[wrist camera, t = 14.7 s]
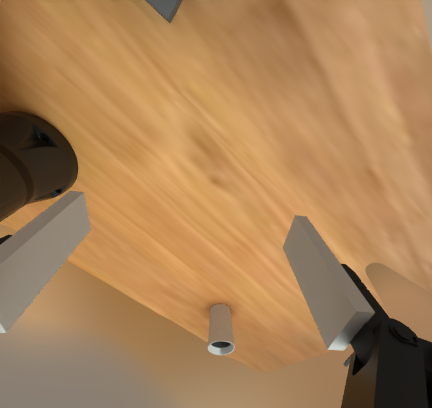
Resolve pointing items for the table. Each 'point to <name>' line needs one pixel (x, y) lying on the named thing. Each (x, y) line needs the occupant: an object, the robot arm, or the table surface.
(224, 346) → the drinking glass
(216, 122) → the table surface
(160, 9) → the board
